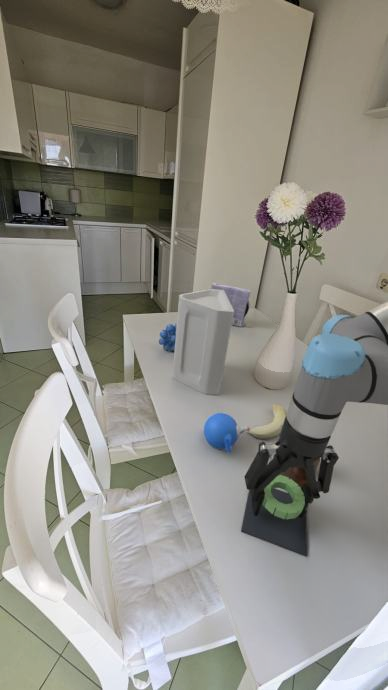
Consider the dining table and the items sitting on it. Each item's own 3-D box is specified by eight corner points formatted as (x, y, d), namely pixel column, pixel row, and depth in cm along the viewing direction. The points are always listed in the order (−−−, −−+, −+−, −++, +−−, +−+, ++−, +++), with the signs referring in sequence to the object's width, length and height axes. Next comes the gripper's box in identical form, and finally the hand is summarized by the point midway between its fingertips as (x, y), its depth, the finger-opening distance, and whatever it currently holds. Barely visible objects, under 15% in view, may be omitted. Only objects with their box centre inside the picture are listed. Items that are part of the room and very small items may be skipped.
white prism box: (172, 361, 111) (178, 286, 98) (212, 363, 112) (223, 290, 99) (172, 393, 94) (180, 308, 81) (219, 395, 95) (234, 311, 82)
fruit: (294, 420, 88) (297, 411, 87) (269, 447, 78) (272, 437, 76) (272, 408, 92) (275, 399, 91) (245, 432, 82) (248, 423, 80)
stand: (324, 463, 75) (338, 430, 70) (327, 501, 66) (344, 466, 60) (279, 449, 78) (290, 416, 72) (275, 484, 68) (287, 448, 63)
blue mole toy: (255, 459, 74) (262, 433, 70) (208, 463, 71) (213, 437, 67) (239, 424, 84) (244, 400, 80) (197, 427, 81) (201, 402, 78)
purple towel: (245, 324, 148) (252, 289, 140) (244, 328, 144) (251, 292, 135) (208, 316, 152) (212, 281, 144) (205, 319, 148) (210, 284, 140)
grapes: (187, 346, 122) (190, 319, 116) (188, 355, 116) (191, 326, 110) (158, 344, 120) (160, 316, 115) (157, 353, 114) (159, 324, 109)
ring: (302, 488, 62) (304, 482, 61) (302, 525, 55) (304, 519, 54) (262, 475, 64) (264, 469, 63) (257, 509, 57) (259, 503, 56)
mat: (305, 500, 65) (306, 499, 65) (305, 556, 55) (306, 555, 55) (250, 481, 68) (250, 480, 68) (240, 531, 58) (241, 530, 58)
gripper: (357, 412, 54) (320, 495, 65) (242, 405, 53) (222, 490, 63) (381, 444, 48) (335, 530, 58) (250, 436, 46) (227, 526, 57)
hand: (276, 509), depth 61 cm, fingers closed on ring, 8 cm apart
